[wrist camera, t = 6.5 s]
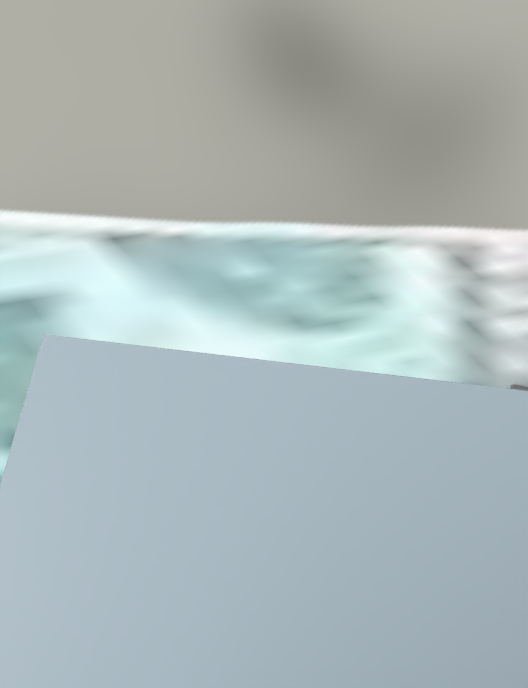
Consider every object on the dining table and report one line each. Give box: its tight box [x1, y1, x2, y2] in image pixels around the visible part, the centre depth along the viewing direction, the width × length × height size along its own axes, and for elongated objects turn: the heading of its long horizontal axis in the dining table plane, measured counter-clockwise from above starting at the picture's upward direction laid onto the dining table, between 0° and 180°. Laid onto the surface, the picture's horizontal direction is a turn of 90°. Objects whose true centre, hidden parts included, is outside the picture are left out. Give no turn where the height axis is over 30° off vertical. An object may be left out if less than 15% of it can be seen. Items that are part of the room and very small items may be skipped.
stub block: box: [0, 334, 528, 688], centre depth 8 cm, size 4×4×12 cm
